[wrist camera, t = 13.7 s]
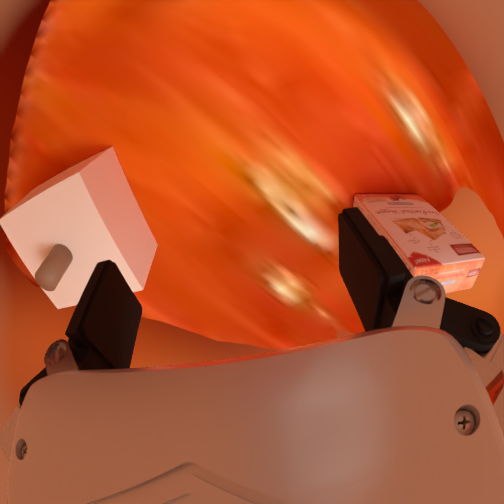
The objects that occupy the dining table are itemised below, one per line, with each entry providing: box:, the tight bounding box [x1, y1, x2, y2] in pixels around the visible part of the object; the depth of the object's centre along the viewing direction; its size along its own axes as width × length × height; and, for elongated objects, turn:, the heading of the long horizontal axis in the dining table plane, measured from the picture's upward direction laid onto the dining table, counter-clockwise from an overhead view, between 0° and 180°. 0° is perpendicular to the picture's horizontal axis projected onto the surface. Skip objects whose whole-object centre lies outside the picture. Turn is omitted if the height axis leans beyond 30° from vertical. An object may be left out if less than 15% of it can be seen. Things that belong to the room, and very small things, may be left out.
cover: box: [0, 146, 158, 309], centre depth 36 cm, size 19×19×18 cm
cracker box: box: [353, 194, 485, 293], centre depth 38 cm, size 14×6×21 cm, turn 92°
